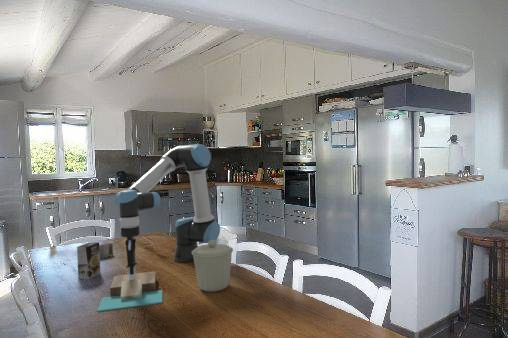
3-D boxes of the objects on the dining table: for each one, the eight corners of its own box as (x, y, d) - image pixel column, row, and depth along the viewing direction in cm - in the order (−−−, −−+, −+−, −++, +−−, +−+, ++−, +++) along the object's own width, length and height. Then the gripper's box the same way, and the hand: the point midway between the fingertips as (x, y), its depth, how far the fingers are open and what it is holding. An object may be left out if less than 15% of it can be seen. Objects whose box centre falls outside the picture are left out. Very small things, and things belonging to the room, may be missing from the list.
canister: (240, 282, 160) (238, 236, 160) (224, 297, 143) (222, 246, 143) (204, 278, 166) (203, 234, 166) (185, 293, 149) (183, 244, 148)
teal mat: (162, 291, 153) (162, 290, 153) (162, 303, 140) (162, 301, 140) (102, 298, 147) (102, 297, 147) (97, 311, 134) (97, 310, 134)
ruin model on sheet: (93, 260, 205) (92, 244, 205) (92, 259, 208) (91, 243, 207) (113, 256, 213) (112, 240, 212) (111, 255, 215) (110, 239, 215)
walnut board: (155, 279, 168) (155, 271, 168) (155, 291, 152) (154, 282, 152) (115, 284, 163) (115, 275, 163) (110, 297, 148) (110, 287, 148)
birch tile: (142, 282, 152) (141, 278, 151) (141, 297, 145) (141, 294, 144) (122, 284, 150) (121, 281, 149) (121, 300, 143) (120, 296, 142)
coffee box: (89, 279, 171) (87, 246, 171) (77, 279, 172) (76, 246, 172) (101, 273, 180) (99, 242, 179) (90, 273, 181) (88, 241, 181)
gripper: (122, 224, 156) (124, 277, 157) (118, 230, 143) (121, 287, 144) (140, 223, 158) (142, 275, 158) (138, 228, 145) (140, 285, 146)
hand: (132, 281), depth 151 cm, fingers closed
